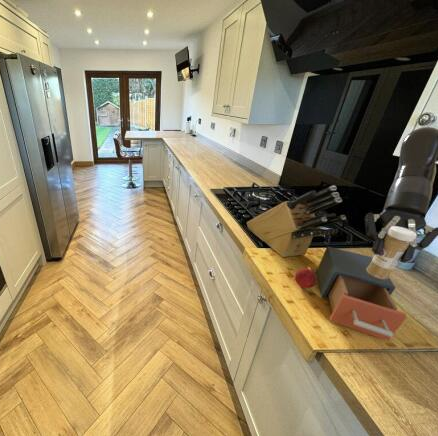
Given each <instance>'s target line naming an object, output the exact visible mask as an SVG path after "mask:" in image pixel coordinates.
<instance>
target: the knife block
mask: <svg viewBox="0 0 438 436" xmlns="http://www.w3.org/2000/svg"><path fill="white" fill-rule="evenodd" d="M337 189H338V187H337V185H330V186H328V187H327V188H324V189H322V190H319V191H318V192H317V190H310V191H308V192H306V193H304V194H302V195H300V196H299V197H297V198H296V199H294V200H286V201H283V202H281V203H279V204H278V205H275V206H274V207H272V208H270V209H268V210H267V211H264V212H263V213H261V214H259V215H257V216H256V217H253V218H252V219H250V220H248V221H247V222H246V224H247V229H248V230H249V231H250V233H252V234H254V235H255V236H256V237H257V238H259V239H260V240H261V241H262V242H264V243H265V244H266V245H267V246H268V247H270V248H271V249H272V250H273V251H274V252H276V253H277V254H278V255H279V256H280V257H282V258H288V257H294V256H304V255H306V254H307V252H308V250H309V247H310V245H311V243H312V240H313V238H314V237H320V236H326V235H333V234H337V233H338V232H339V229H338V228H337V229H336V228H326V229H325V228H323V229H320V227H321V228H322V227H325V226H329V225H332V224H336V223H340V222H342V221H345V220H347V216H346V215H345V214H341V215H338V216H337V215H336V213H334V212H332V213H327V214H326V213H322V214H319V215H317V216H316V215H315V214H316V213H319V212H321V211H325V210H327V209H330V208H332V207H334V206H337V205H339V204H340V203H342V202H343V199H342V197H340V193H339V192H338V191H337Z"/></svg>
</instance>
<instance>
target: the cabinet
mask: <svg viewBox="0 0 438 436" xmlns="http://www.w3.org/2000/svg"><path fill="white" fill-rule="evenodd" d="M373 257H374V256H369V255H365V254H360V253H356V252H352V251H349V250H344V249H340V248H336V247H331V246H326V249H325V250H324V253H323V256H322V257H321V260H320V261H319V264H318V266H317V268H316V270H315V271H316V275H317V276H316V277H317V282H318V286H319V291H320V296H321V299H324V300H327V301H330V300H329V296H328V292H329V290H330V288H331V286H332V284H333V282H334V280H335V278H336V276H337V274H338V275H342V276H345V277H349V278H352V279H356V280H360V281H363V282H367V283H370V284H374V285H378V286H381V287H385V288H386V289H387V290H388V292H389V294H390V296H392V294H393V293H394V291H395V290H396V286H395V284H394V283H393V281H392V280H391V278H390V277H389V278H388V279H379V278H376V277H374V276H372V275H370V274H369V273H368V272H367V271H366V268H368V266H369V265H370V263H371V261H372V259H373Z"/></svg>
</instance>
